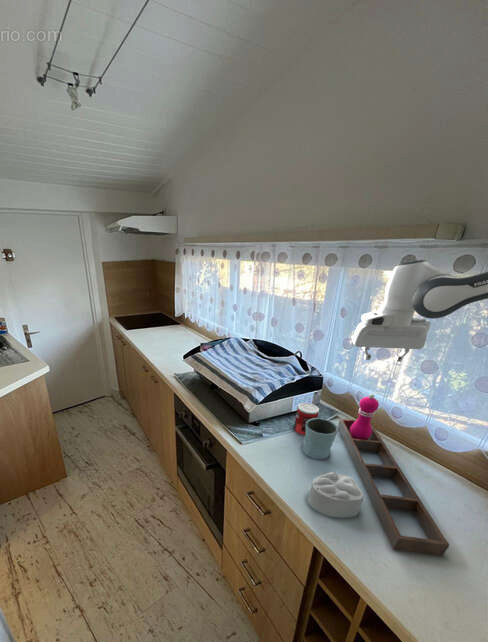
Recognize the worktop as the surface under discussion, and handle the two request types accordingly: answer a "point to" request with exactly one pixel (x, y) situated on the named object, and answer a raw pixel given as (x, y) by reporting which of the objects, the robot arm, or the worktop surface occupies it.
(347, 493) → the lumpy-topped squat cylinder
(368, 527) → the worktop surface
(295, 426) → the canned food
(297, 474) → the worktop surface
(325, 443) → the grey-green cup
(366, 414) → the pepper mill
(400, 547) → the cubby organizer
